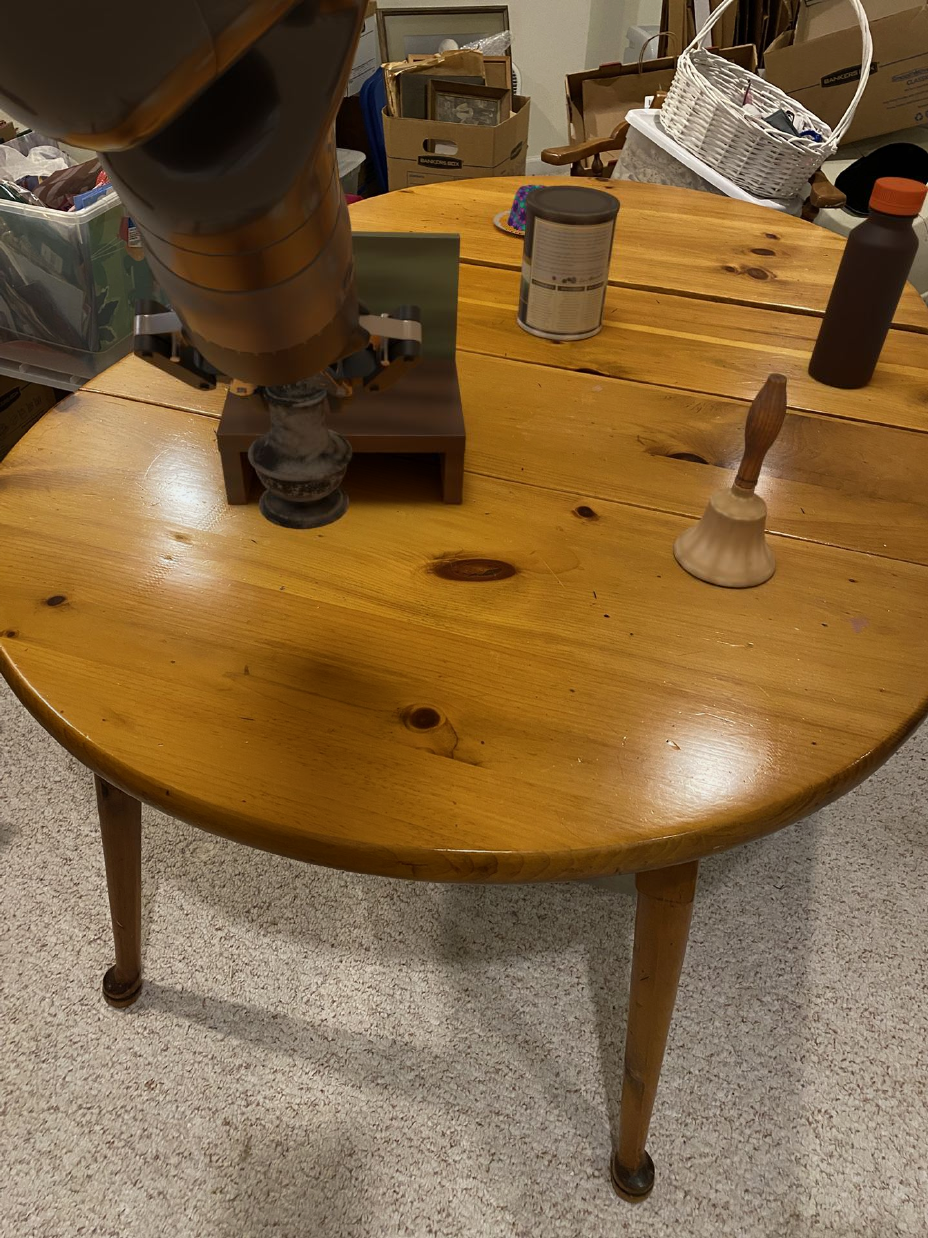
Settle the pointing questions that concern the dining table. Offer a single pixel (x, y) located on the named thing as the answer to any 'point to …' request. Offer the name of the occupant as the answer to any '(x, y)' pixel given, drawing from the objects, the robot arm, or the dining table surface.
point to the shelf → (419, 401)
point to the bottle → (868, 285)
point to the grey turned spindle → (300, 460)
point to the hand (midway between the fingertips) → (299, 395)
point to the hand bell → (739, 507)
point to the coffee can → (566, 261)
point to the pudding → (517, 209)
